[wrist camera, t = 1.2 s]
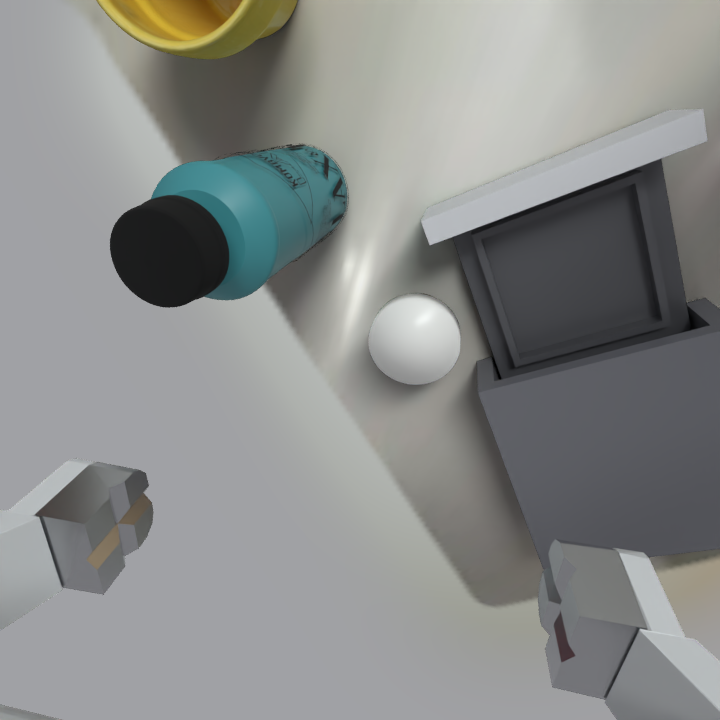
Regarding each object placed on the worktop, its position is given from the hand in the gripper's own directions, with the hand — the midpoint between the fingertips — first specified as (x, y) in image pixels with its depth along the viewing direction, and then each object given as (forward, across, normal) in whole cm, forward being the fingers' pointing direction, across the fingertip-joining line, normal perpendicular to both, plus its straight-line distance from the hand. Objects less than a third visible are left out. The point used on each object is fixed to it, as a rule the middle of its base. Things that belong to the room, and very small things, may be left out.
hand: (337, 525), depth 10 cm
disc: (+25, 0, +6) cm, 26 cm away
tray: (+28, -11, +3) cm, 30 cm away
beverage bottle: (+29, +8, -3) cm, 30 cm away
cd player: (+29, -17, +14) cm, 36 cm away
